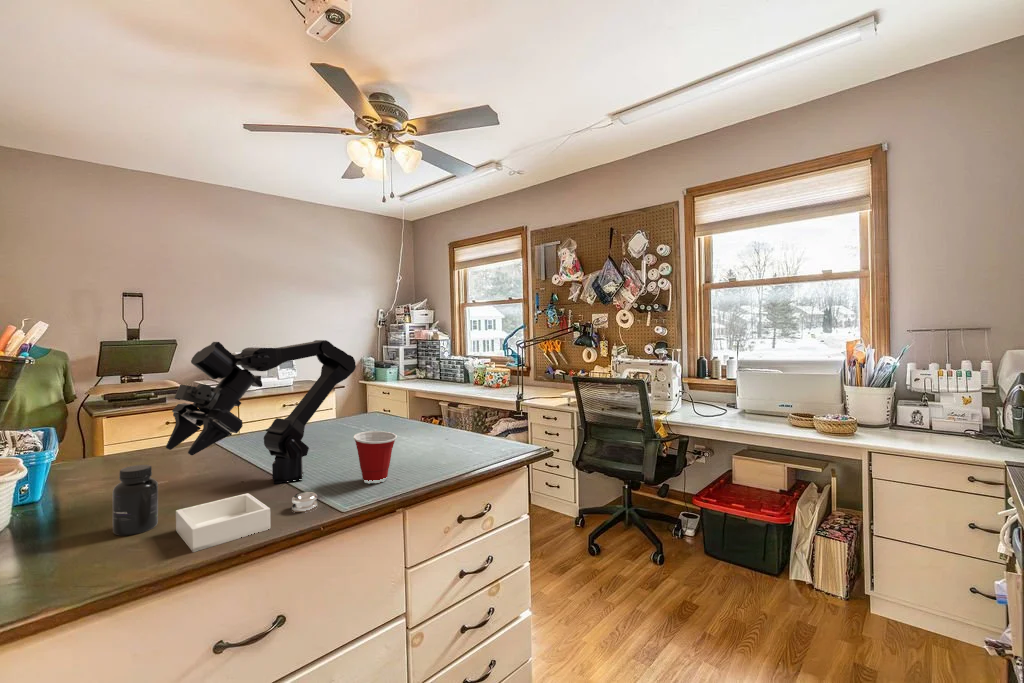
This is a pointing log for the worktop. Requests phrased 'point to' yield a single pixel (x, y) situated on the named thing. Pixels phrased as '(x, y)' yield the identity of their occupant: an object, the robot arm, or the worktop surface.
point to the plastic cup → (374, 453)
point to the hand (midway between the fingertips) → (178, 451)
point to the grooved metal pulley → (304, 501)
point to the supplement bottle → (135, 501)
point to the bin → (222, 521)
